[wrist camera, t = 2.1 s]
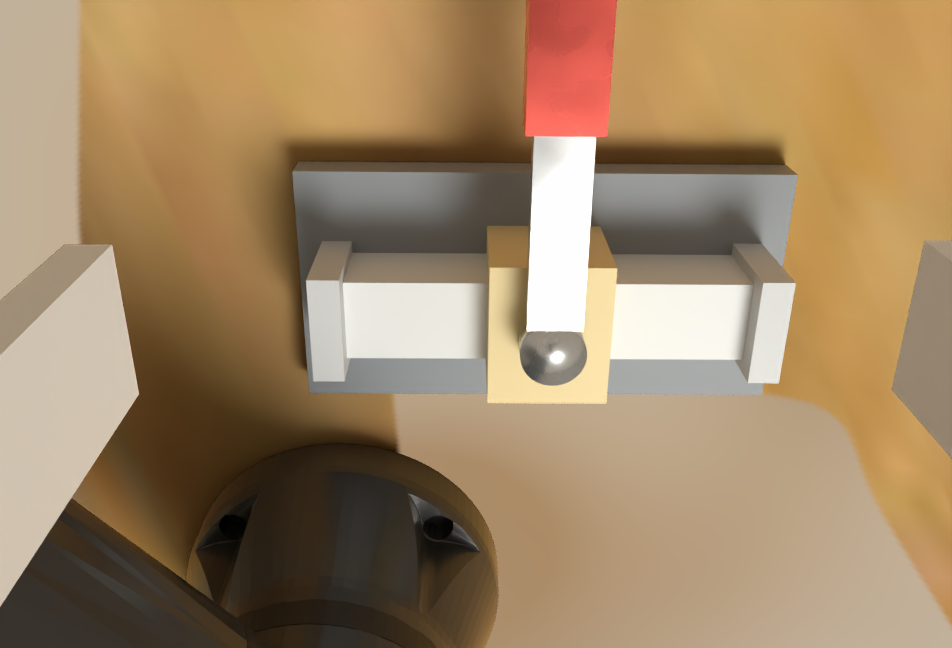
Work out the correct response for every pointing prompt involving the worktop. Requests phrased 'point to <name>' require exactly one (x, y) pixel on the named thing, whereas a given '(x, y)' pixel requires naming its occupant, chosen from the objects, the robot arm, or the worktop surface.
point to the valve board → (507, 200)
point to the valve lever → (562, 174)
